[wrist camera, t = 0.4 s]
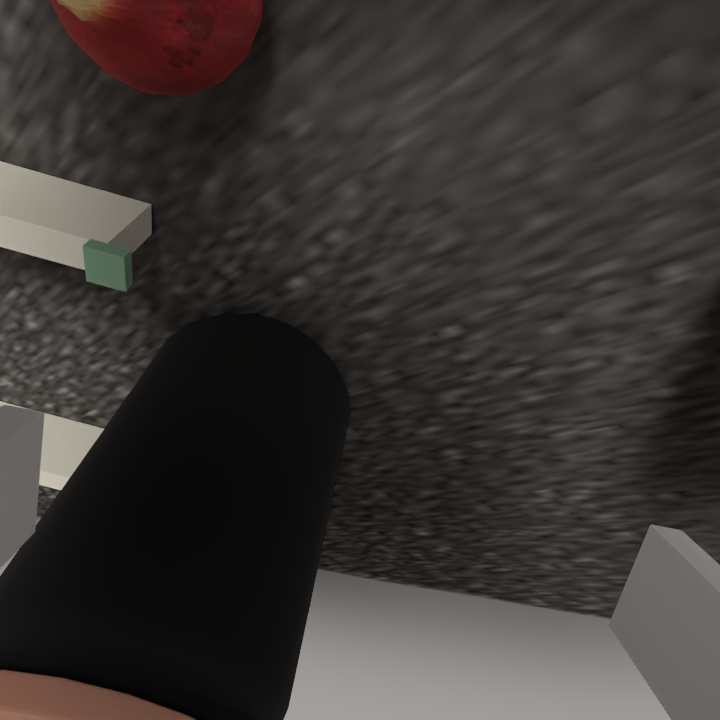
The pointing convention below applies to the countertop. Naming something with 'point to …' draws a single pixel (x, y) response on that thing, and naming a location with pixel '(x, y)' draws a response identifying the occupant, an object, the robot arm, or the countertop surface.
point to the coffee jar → (183, 538)
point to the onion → (163, 39)
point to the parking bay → (77, 249)
